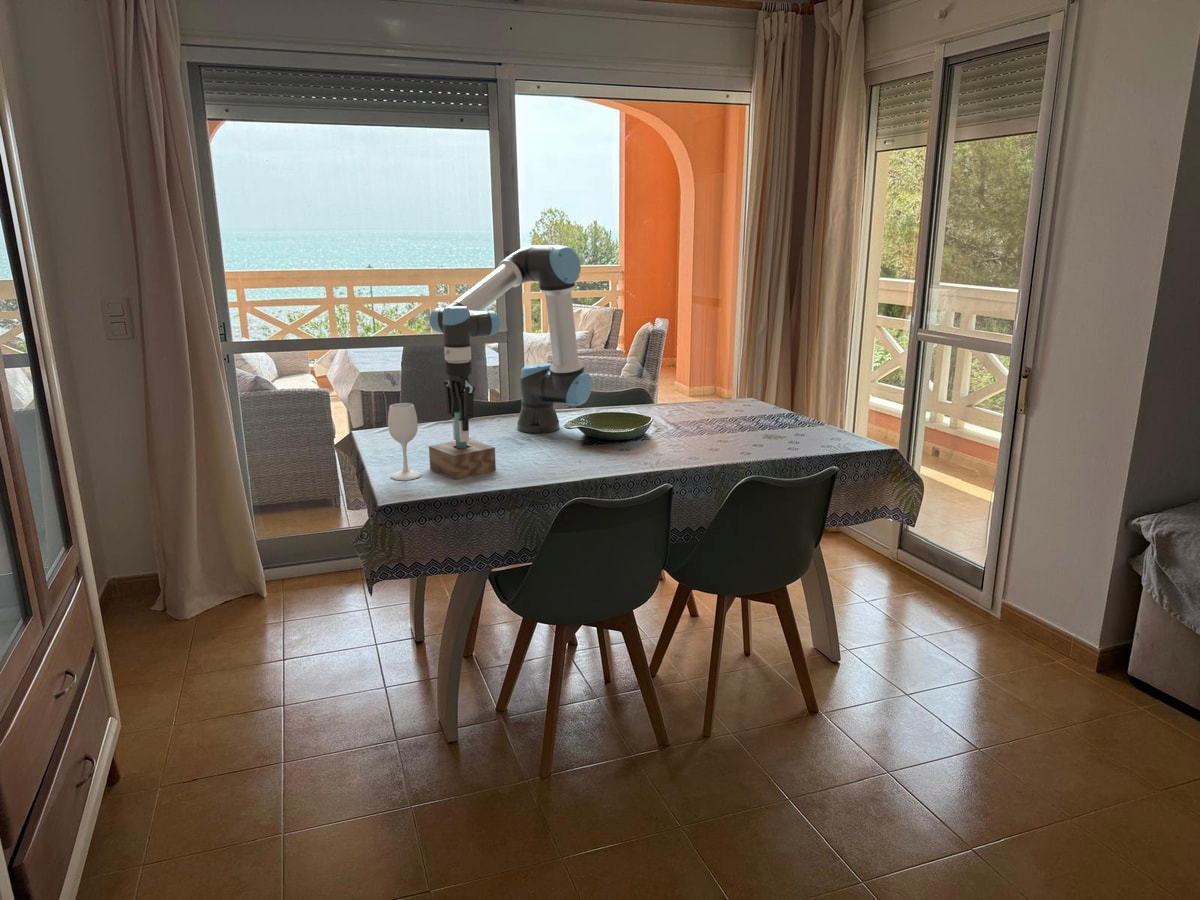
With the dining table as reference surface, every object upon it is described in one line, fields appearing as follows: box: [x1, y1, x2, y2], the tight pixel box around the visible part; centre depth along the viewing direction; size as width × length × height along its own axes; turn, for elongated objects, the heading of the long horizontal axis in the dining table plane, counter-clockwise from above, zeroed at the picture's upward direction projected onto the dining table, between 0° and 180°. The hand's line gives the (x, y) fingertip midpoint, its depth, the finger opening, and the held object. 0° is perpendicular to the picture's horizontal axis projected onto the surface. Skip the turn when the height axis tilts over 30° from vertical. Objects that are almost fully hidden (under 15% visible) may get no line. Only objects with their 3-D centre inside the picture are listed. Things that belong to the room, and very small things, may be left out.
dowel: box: [454, 412, 467, 450], centre depth 236 cm, size 3×3×12 cm
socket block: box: [428, 438, 497, 480], centre depth 238 cm, size 14×14×7 cm
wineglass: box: [387, 402, 422, 481], centre depth 229 cm, size 9×9×21 cm
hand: (461, 439), depth 236 cm, fingers closed on dowel, 3 cm apart
